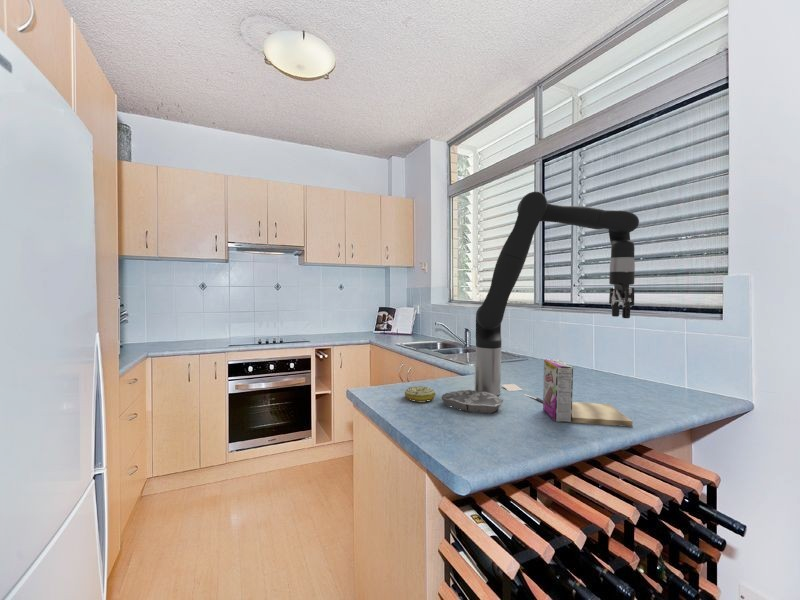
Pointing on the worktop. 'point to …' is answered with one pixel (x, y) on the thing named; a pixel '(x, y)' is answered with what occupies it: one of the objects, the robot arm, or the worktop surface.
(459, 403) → the flat grey stone
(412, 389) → the decorated donut
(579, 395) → the worktop surface
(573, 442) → the worktop surface
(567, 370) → the candy bar box
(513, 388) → the spatula
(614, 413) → the bamboo board
